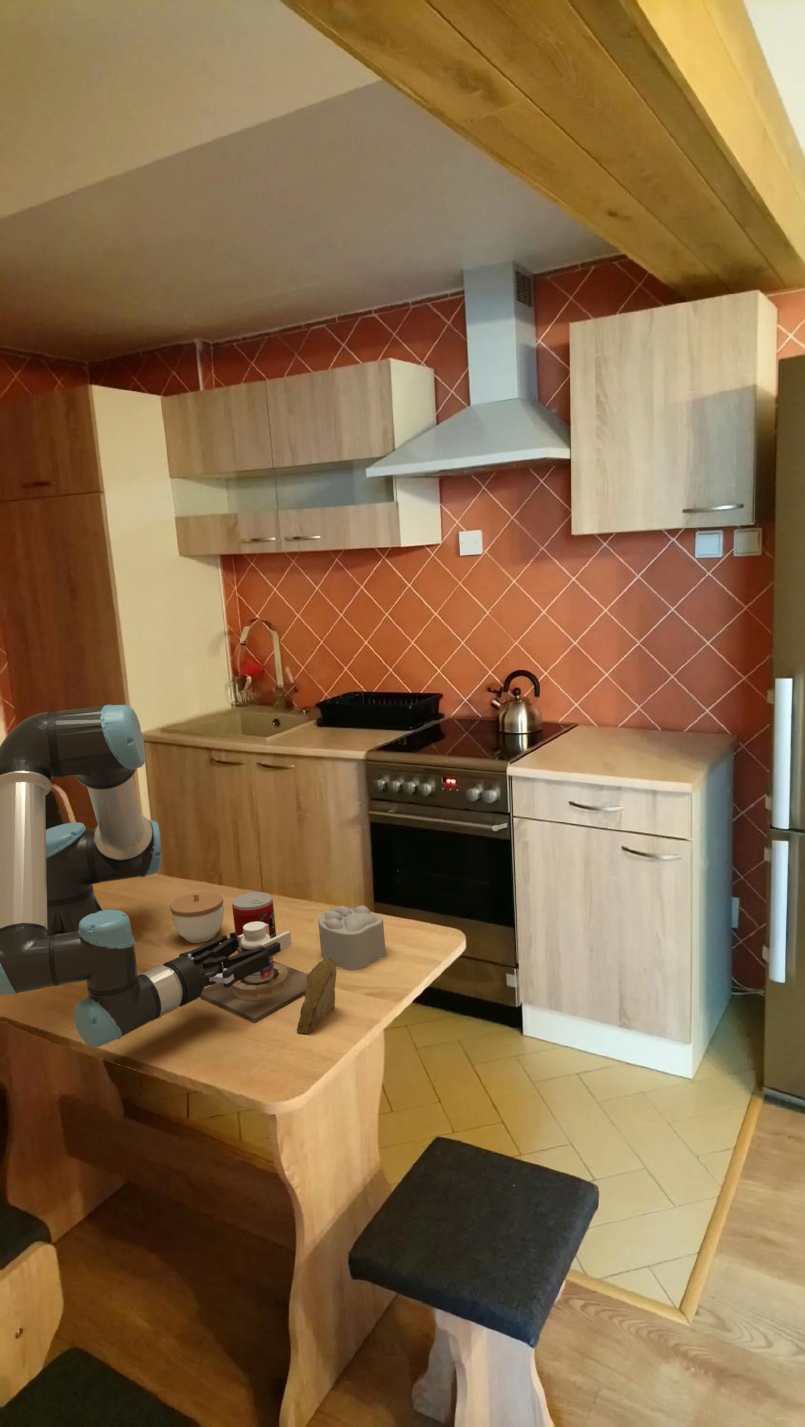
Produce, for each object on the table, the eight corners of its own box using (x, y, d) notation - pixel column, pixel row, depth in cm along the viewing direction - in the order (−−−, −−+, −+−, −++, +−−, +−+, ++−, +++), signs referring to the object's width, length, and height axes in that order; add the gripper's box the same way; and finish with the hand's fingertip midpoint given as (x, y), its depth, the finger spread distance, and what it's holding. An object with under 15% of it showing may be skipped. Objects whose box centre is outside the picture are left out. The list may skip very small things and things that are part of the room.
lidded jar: (210, 950, 178) (204, 906, 176) (164, 945, 181) (158, 902, 180) (236, 927, 188) (231, 885, 186) (192, 924, 191) (187, 882, 189)
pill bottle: (269, 984, 156) (263, 932, 154) (239, 983, 157) (234, 932, 155) (278, 969, 161) (273, 919, 159) (250, 969, 162) (244, 919, 160)
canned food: (270, 961, 171) (264, 907, 169) (231, 960, 173) (225, 906, 171) (283, 943, 178) (278, 891, 176) (245, 942, 180) (240, 891, 178)
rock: (312, 1031, 140) (359, 998, 147) (284, 984, 142) (331, 954, 148) (288, 1046, 148) (333, 1015, 155) (262, 1001, 150) (307, 972, 156)
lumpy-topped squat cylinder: (353, 973, 163) (350, 929, 162) (307, 955, 172) (303, 913, 171) (393, 952, 171) (389, 910, 169) (346, 936, 180) (343, 895, 178)
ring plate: (197, 996, 159) (195, 981, 158) (266, 961, 171) (264, 948, 170) (254, 1022, 148) (253, 1007, 148) (323, 984, 160) (322, 969, 160)
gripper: (141, 992, 151) (248, 942, 168) (207, 1023, 139) (314, 966, 156) (136, 951, 150) (244, 904, 167) (201, 979, 138) (311, 926, 155)
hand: (278, 934), depth 162 cm, fingers closed on pill bottle, 5 cm apart
